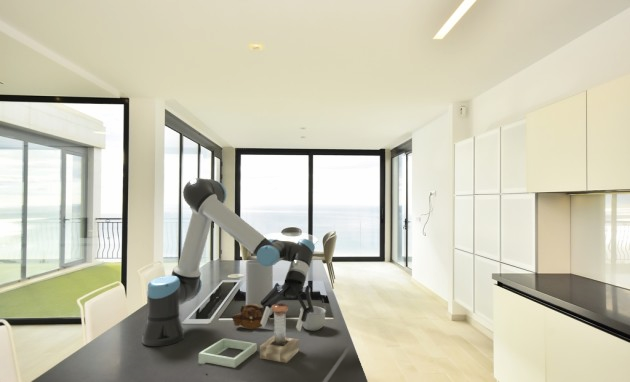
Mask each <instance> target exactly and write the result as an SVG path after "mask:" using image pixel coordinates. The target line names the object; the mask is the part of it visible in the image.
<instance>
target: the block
mask: <svg viewBox="0 0 630 382" xmlns="http://www.w3.org/2000/svg"><path fill="white" fill-rule="evenodd" d="M299 340H300V339H298V338H292V337H291V338H290V337H286V345H284V346H277V345H274V335H272V336H271V337H270V338H268V339H267V340H265V342H263V343H262V344H261V345H259V359H262V360H263V359H264V360H268V361H275V362H280V363H285V364H286V363H288V362H289V361H290V360H291V359H293V357H294V356H295V355H296V354H298V352H299V351H300V344H299V343H300V341H299Z"/></svg>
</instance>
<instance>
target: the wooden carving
mask: <svg viewBox="0 0 630 382" xmlns="http://www.w3.org/2000/svg"><path fill="white" fill-rule="evenodd" d="M263 309H264V307H261V306H259V305H256V304H248V305H246V304H243V305H241V308H240V312H241V313H240V312H239V313H236V314H233V315H232V316H231V319H232V321H233V324H234V326H235V327H239V326H241V327H242V328H245V329H247V330H248V329H249V330H255V329H259V328H261V327H263V326H262V325H261V324H260V322H261V320H262V317H263V316H262V311H263ZM269 319H271V317H270V316H268V319H267V320H269Z"/></svg>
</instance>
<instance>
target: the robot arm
mask: <svg viewBox="0 0 630 382" xmlns="http://www.w3.org/2000/svg"><path fill="white" fill-rule="evenodd" d="M182 193H183V200H184V201H185V202H186V204H187V205H188V206H189V209H191V211H192V213H191V217H190V220H189V223H188V228H187V232H186V235H185V239H184V241H183V245H182V249H181V253H180V256H179V261H178V265H176V266H174V267H173V269H172V272H171V275H163V276H160V277H159V276H158V277H156V278H153V279H151V280H150V281H149V283H148V285H147V290H146V296H147V310H146V312H147V313H146V314H147V317H146V318H147V319H146V320H147V321H146V324H145V327H144V330H143V333H142V335H141V336H142V337H141V342H142V344H143V345H145V346H147V347H162V346H168V345H172V344H175V343H178V342H180V341H181V340H183V339H184V337H185V331H184V329H185V328H183V325H182V321H181V319H180V306H182V305H183V304H185V303H187V302H189V301H191V300H193V299H194V298H196V297H197V296H198V295H199V293H200V291H201V290H202V286H203V285H202V279H201V274H202V273H201V271H200V266H201V262H202V258H203V254H204V252H205V248H206V247H205V246H206V244H207V240H208V236H209V232H210V228H211V225H212V222H214V224H216V225H217V226H218V227H220V228H221V229H222V231H224V232H226V233H227V234H228V235H229V236H230V237H232V238H233V239H234V240H236V242H238V244H240V245H241V246H243V247H244V248H246V249H247V251H249V252H250V253H251V254H253V255H254V256H255V257H256V259H257V260H258V262H259V263H260V264H261V265H262V266H266V267H267V266H272V265H273V266H274V265H276V264H278V262H280V261H286V262H290V264H289V267H288V270H287V272H286V276H285V279H284V282H283V284H279V283H278V282H277V283H275V284H274V285H273V289H272V290H271V291H270V292H269V294H268V295H267V296H266V297H265V298H264V299H263V300H262V301H261V305H262V306H263V307H264V309H263V311H262V316H263V317H262V320H261V322H260V324H261V325H262V326H261V327H262V328H265V327H266V325H267V322H268V320H269V319H268V317H270V316H269V314H270V311H271V310H270V308H271V307H272V305H274V304H278V303H279V302H280V301H282V300H284V299H285V298H288V299H290V298H291V299H295V298H297V301H298V302H299V303H300V305H301V308H302V307H303V309H304V311H303V310H301V312H300V313H299V315H298V316H299V317H298V318H297V322H296V325H295V329H296V330H297V332H299V333H301V330H302V327H303V326H302V324H303V322H305V321H306V318H307V314H308V313H310V312H311V313H313V312H314V309H313V306H314V304H313V301H312V297H311V292H312V291H311V287H310V286H309V285H306V286H305V284H306V280H307V276H308V274H309V269H310V267H311V263H312V260H313V257H314V252H315V249H316V248H315V243H314V242H313V241H311V240H310V239H306V238H303V239H299V240H298V241H297V243H294V242H288V241H283V240H279V239H275V238H274V239H273V238H269V239H267V237H265V236H264V235H263V234H261V232H259V231H258V230H256V229H255V228H254V227H252V225H251V224H249V222H246V221H245V220H244V219H243V218H242V217H240V216H239V215H237V213H236V212H234V211H233V210H231V209H230V208H229V207H227V206H226V205H225V204H224V203H225V201H226V199H227V189H226V188H225V186H224V184H223V183H221V182H220V181H218V180H215V179H211V178H209V179H208V178H201V177H200V178H198V177H197V178H193V179H191V180H189V181H188V182H187V183H186V184H185V186H184V188H183V191H182ZM303 292H304V294H305V297H306V301H307V306H308V308H306V304H305V302H304V300H303V299H302V296H301V294H302V293H303Z"/></svg>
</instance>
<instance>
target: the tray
mask: <svg viewBox="0 0 630 382" xmlns="http://www.w3.org/2000/svg"><path fill="white" fill-rule="evenodd" d="M257 347H258V343H256V342H249V341H244V340H236V339H231V338H225V337H223V338H222V339H220V340H218V341H216V342H215V343H213V344H211V345H210V346H208V347H207V348H205V349H202V351H200V352H199V353H198V365H204V364H206V363H207V364H214V365H217V366H224V367H229V368H234V369H236V368H237V367H238V366H239V365H240V364H241V363H243V362H245V361H246V360H247V359H248V358H250V357H251V355H253V354H255V353H256V352H257V351H258V348H257ZM229 348H231V349H238V350H242V352H239V354H237V355H235V356H234V357H230V356H225V355H220V354H221V353H222V352H224V351H226V350H227V349H229Z"/></svg>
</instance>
